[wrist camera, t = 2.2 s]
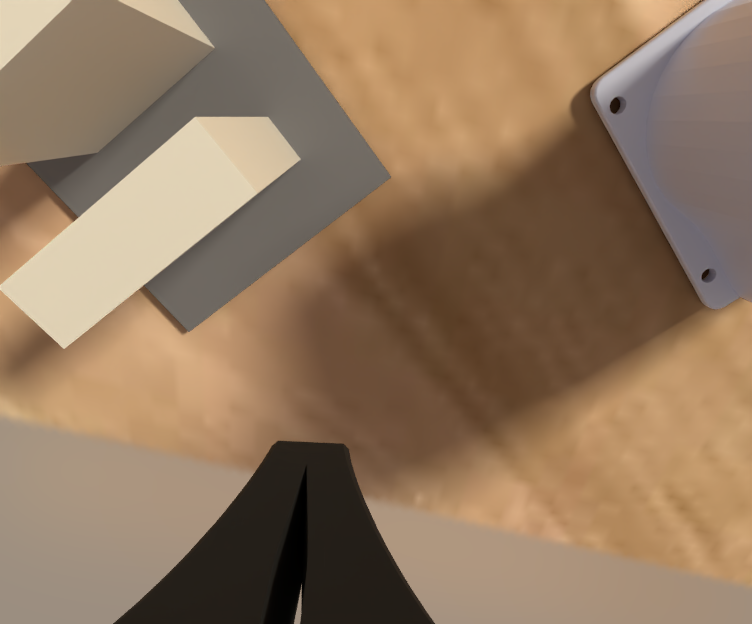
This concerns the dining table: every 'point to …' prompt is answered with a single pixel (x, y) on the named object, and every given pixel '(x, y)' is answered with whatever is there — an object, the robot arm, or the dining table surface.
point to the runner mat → (238, 99)
